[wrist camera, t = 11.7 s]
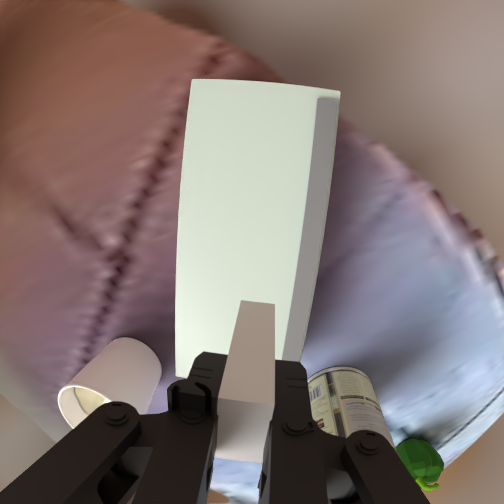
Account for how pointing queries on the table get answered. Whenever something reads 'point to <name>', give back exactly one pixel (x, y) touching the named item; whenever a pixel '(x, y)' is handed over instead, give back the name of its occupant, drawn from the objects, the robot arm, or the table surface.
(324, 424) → the coffee can
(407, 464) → the bell pepper
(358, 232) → the table surface
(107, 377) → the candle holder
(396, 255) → the table surface
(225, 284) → the pale green rectangular panel
